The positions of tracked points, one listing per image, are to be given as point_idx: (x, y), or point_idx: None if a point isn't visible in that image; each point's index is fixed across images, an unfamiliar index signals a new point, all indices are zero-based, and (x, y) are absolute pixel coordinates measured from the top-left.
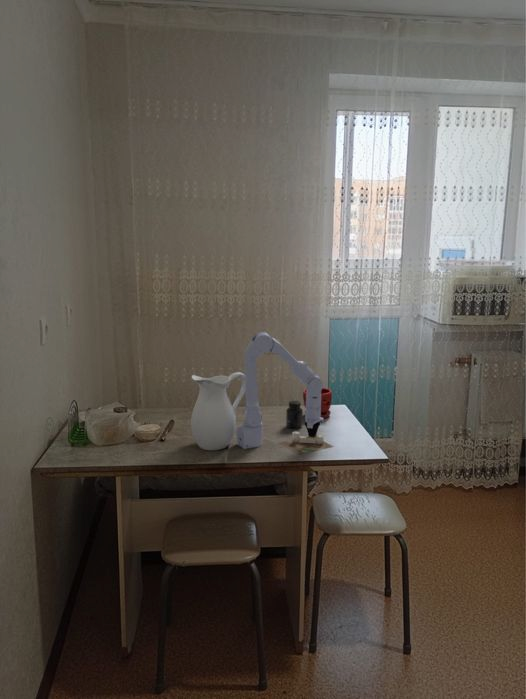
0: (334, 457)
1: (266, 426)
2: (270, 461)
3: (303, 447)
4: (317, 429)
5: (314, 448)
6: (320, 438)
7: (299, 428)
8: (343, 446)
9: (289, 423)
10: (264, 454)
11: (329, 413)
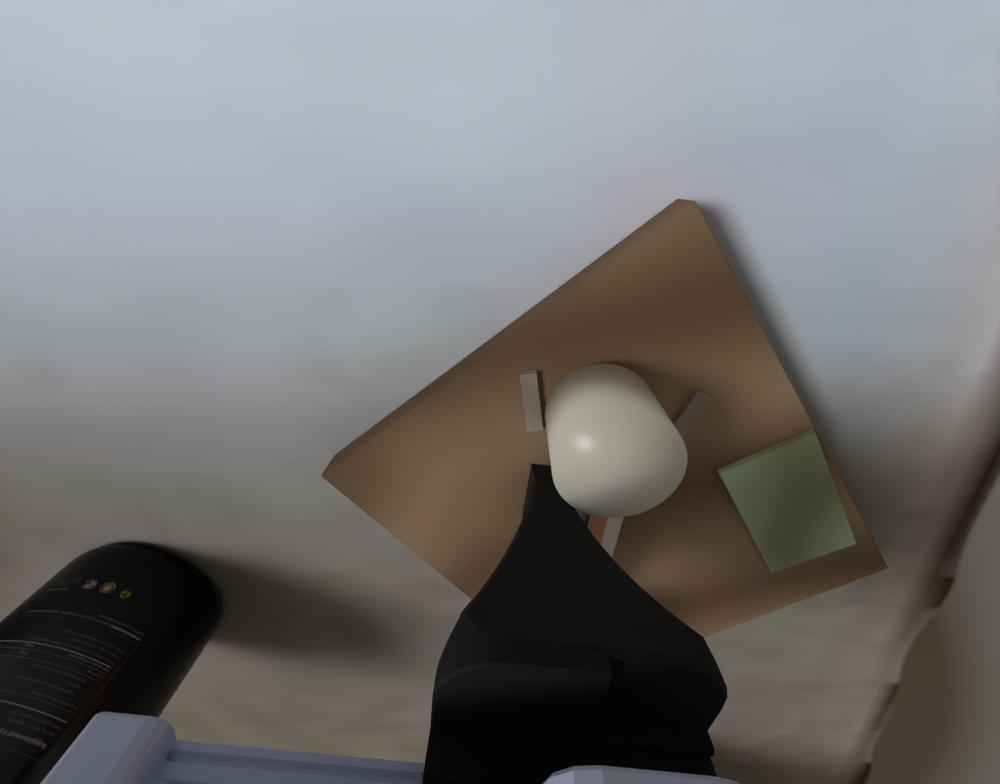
0: (983, 191)
1: (194, 717)
2: (884, 681)
3: (700, 541)
4: (581, 571)
5: (744, 450)
6: (681, 445)
7: (160, 581)
8: (535, 27)
9: (172, 694)
10: (742, 707)
11: None
